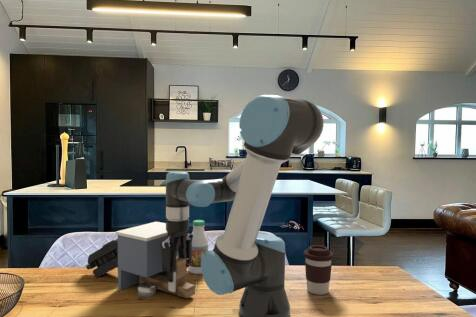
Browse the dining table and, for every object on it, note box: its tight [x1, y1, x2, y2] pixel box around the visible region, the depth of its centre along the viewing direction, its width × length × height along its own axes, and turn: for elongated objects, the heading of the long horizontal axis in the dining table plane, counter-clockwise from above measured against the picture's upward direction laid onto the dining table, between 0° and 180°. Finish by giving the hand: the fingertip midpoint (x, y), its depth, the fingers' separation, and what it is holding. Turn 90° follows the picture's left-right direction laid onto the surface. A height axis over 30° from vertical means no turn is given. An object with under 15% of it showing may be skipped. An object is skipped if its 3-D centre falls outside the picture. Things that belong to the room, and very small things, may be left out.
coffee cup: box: [303, 244, 334, 296], centre depth 123 cm, size 10×10×15 cm
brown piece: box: [138, 257, 196, 299], centre depth 121 cm, size 22×4×11 cm, turn 57°
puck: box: [137, 282, 157, 298], centre depth 119 cm, size 6×6×3 cm
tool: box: [85, 238, 118, 278], centre depth 135 cm, size 6×19×15 cm, turn 78°
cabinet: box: [115, 221, 179, 291], centre depth 126 cm, size 15×19×20 cm
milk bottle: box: [187, 219, 209, 275], centre depth 140 cm, size 8×8×20 cm
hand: (177, 288), depth 118 cm, fingers closed on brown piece, 4 cm apart
